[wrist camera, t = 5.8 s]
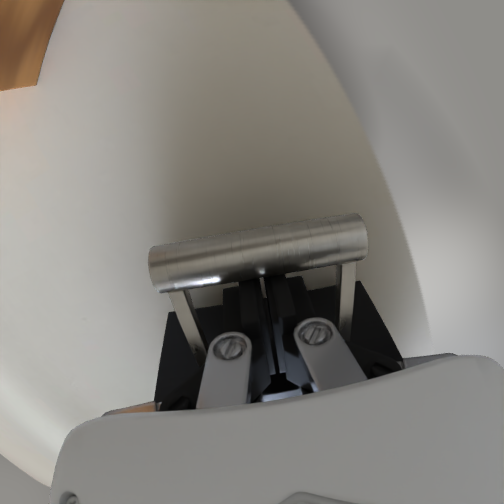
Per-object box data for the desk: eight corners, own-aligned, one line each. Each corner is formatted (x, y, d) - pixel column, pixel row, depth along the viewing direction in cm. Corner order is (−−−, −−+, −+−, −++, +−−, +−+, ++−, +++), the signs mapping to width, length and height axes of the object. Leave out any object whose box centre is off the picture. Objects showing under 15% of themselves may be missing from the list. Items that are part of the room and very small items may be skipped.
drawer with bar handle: (131, 213, 13) (83, 297, 8) (363, 175, 13) (437, 238, 8) (219, 419, 22) (221, 481, 17) (344, 398, 22) (362, 458, 17)
